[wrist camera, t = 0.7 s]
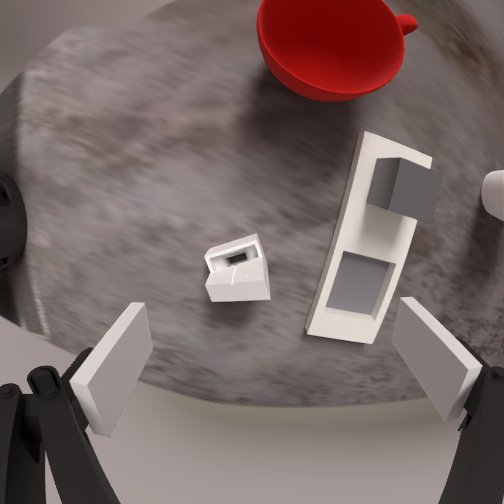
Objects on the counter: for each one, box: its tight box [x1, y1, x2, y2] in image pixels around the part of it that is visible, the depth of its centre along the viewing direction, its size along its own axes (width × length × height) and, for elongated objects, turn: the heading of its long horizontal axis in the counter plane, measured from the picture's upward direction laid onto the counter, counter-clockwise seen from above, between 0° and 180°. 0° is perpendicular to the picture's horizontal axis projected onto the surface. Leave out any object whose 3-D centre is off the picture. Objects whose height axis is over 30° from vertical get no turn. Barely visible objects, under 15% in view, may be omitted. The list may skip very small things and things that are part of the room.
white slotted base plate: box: [305, 131, 443, 344], centre depth 30 cm, size 9×24×8 cm, turn 167°
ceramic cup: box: [257, 0, 418, 102], centre depth 23 cm, size 13×17×10 cm
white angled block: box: [204, 233, 271, 302], centre depth 31 cm, size 4×10×9 cm, turn 108°
